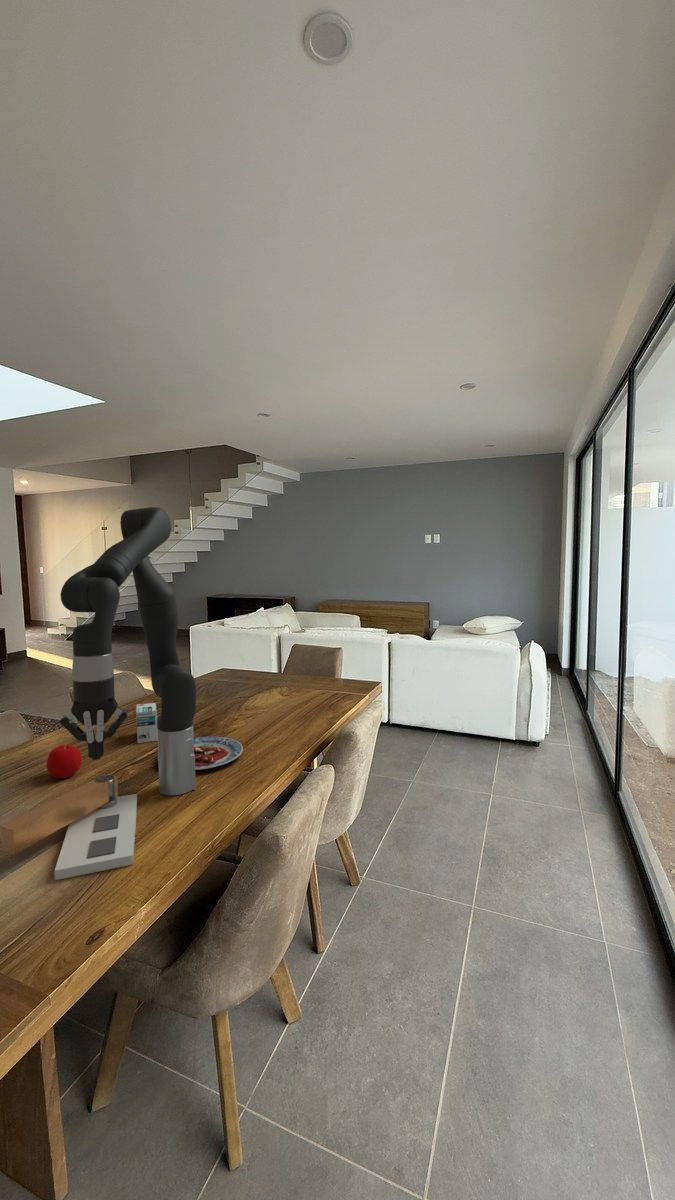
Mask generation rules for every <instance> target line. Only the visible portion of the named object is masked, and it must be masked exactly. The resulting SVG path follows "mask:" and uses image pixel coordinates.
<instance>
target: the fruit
mask: <svg viewBox="0 0 675 1200" xmlns="http://www.w3.org/2000/svg"><path fill="white" fill-rule="evenodd" d="M64 742H65V744H61V745H59V746H56V747H54V748H53V749H52V750H51V751H50V753H48V756H47V760H46V769H47V772H48V774H49V775H50V776H52V777H53V778H55V779H59V778H62V779H67V778H71V777H72V776H73V775H75V774H76V773H77V772H78V771H79V770H80V768H81V766H82V763H83V762H82V761H83V756H82V755H83V754H82V752H81V750H80V749H79V748H78V747H77V746H75V745H71V744H67V742H68V741H67V740H64Z"/></svg>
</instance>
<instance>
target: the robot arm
mask: <svg viewBox="0 0 675 1200" xmlns="http://www.w3.org/2000/svg"><path fill="white" fill-rule="evenodd" d="M119 522H120V523H119V524H120V530H121V531H120V532H121V536H122V540H120V541H118V542H116V543H115V544H113V545H112V546H110V547H109V548H107V549H106V550H104V552H103V553H102V554H101V555H100V557H98V559H96V561H95V562H94V563H93V564H91V565H88V566H86V567H85V568H83V569H81V570H79V571H76V573H74V574H72V575H71V576H70V577H69V578H68V579H67V580H66V581H65V582H64V583H63V585H62V588H61V590H60V601H61V604H62V605H63V607H64V608H65V609H66V610H68V611H70V612H73V613H94V617H93V619H92V621H91V622H87V623H85V624H79V625H77V626H76V627H74V628H73V631H72V652H73V653H72V654H73V655H72V658H73V659H72V667H71V668H72V672H71V678H72V691H73V692H72V695H73V702H72V703H73V704H72V706H71V708H70V712H68V713H66V714H64V715H63V716H62V717H61V718H60V720H59V723H60V725H61V726H62V727H64V729H66V730H67V731H68V733H70V734H71V735H72V737H74V738H75V739H76V740H77V741H78V742H82V741H83V742H86V743H87V756H88V758H91V760H92V761H97V760H101V757H103V756H104V753H105V740H106V739H111V738H112V737H113V736H114V734H116V732H117V731H118V730H119V728H120V727H121V726H122V724H123V723H124V721H125V720H126V719H127V718H128V714H129V711H128V709H122V708H121V707H119V706H118V702H117V700H116V699H115V698H116V697H115V694H116V693H115V666H114V665H115V664H114V663H115V662H114V657H113V647H112V645H113V644H112V633H113V626H114V623H115V619H116V618H115V617H116V614H117V610H118V607H119V603H120V600H121V599H120V594H121V593H120V589H119V588H120V587H121V586H122V585H123V584H124V583H125V582H126V580H127V579H128V578H129V576H131V573H132V575H133V581H134V587H135V590H136V598H137V602H138V603H137V604H138V608H139V609H138V610H139V615H140V619H141V623H142V627H143V633H144V638H145V643H146V646H147V649H148V657H149V666H150V667H149V669H150V681H151V687H152V690H153V692H154V694H155V695H156V696H157V697H158V698H160V699H161V711H160V712H161V714H160V715H159V716H157V734H158V741H157V762H158V787H159V788H158V790H159V793H160V794H162V795H165V796H179V795H184V794H187V793H189V792H191V791H194V790H196V788H197V786H196V784H197V783H196V770H195V755H194V738H195V737H194V718H195V715H196V709H197V704H196V701H197V700H196V699H197V685H196V680H195V678H194V676H193V674H192V673H191V672H189V671H188V670H186V669H184V668H182V667H181V664H180V660H179V656H178V651H177V642H176V641H177V635H178V634H177V633H178V629H179V628H178V626H179V611H178V606H177V600H176V594H175V592H174V590H173V588H172V587H171V585H170V584H169V583H168V582H167V581H166V579H165V578H164V577H163V576H162V575H161V574H160V573H159V571H157V569H156V568H155V566H154V565H153V564H152V562H151V560H150V557H149V555H151V553H153V552H154V551H155V550H157V548H159V547H160V546H162V545H163V544H164V543H165V542H167V540H168V539H169V538H170V536H171V533H172V532H171V531H172V522H171V518H170V516H169V515H168V513H167V511H166V510H165V509H163V508H162V507H158V506H151V507H142V508H136V509H135V508H134V509H133V508H132V509H128V510H125V511H123V512H122V513H121V517H120V521H119ZM114 713H115V715H114ZM113 715H114V719H115V720H114V721H113V722H112V723H111V725H110V726H109V728H108V729H107V730H105V727H106V724H107V723H108V722H109V720H110V719H111V718H112V716H113ZM76 719H77V720H78V721H79V723H80V724H81V725H83V726H84V730H85V731H84V730H83V729H82V728H81V727H80V726H79V725H78V724H77V723H76ZM95 726H96V731H95Z"/></svg>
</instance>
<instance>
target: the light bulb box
mask: <svg viewBox="0 0 675 1200" xmlns="http://www.w3.org/2000/svg"><path fill="white" fill-rule="evenodd" d="M135 706H136V708H135V709H136V710H135V714H136V729H137V730H136V732H137V734H136V735H137V736H136V737H137V744H141V743H143V744H144V743H150V742H151V741H152V742H158V734H157V719H158V711H157V703H156V702H151V703H141V704H140V703H139V704H138V703H137V704H136V705H135Z"/></svg>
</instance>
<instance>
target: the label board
mask: <svg viewBox="0 0 675 1200" xmlns="http://www.w3.org/2000/svg"><path fill="white" fill-rule="evenodd" d="M137 810H138V794H137V793H135V794H134V793H133V794H127V795H121V796H118V797H116V798H114V799H113V800H111V801H109V802H107V803H105V804H103V805H102V806H100V807H98V808H96V809H94V810H93V811H91V812H89V813H87V814H86V815H84V816H82V817H80V818H78V819H77V820H75V821H73V822H71V823H70V824H68V828H67V829H66V834H65V837H64V840H63V842H62V847H61V850H60V853H59V856H58V859H57V862H56V865H55V868H54V881H59V880H63V879H68V878H73V877H74V878H75V877H78V876H83V875H87V874H93V873H97V872H98V873H99V872H103V871H109V870H113V869H118V868H122V867H127V866H132V865H134V856H135V855H134V854H135V843H136V842H135V840H136V839H135V838H136V826H137V814H138V813H137V812H138V811H137ZM134 842H135V843H134Z"/></svg>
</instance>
